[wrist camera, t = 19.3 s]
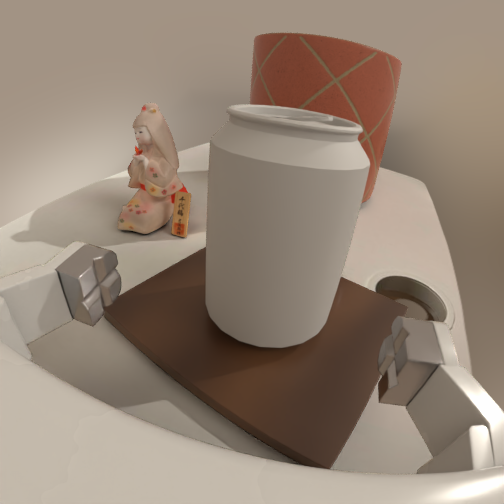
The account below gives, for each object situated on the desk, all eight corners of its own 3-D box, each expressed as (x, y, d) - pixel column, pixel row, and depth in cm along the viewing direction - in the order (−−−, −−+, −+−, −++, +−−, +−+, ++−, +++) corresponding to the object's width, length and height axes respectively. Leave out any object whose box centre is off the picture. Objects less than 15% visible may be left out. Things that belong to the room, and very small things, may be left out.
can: (240, 264, 23) (256, 98, 17) (336, 298, 21) (382, 123, 15) (181, 324, 18) (176, 104, 11) (301, 377, 15) (369, 135, 9)
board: (403, 316, 21) (408, 306, 21) (323, 476, 11) (329, 469, 11) (235, 239, 28) (236, 230, 28) (104, 317, 18) (101, 305, 18)
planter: (267, 159, 53) (279, 49, 43) (374, 185, 48) (396, 69, 38) (216, 192, 38) (228, 29, 27) (371, 232, 33) (409, 52, 22)
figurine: (98, 224, 28) (100, 103, 24) (142, 210, 34) (148, 105, 30) (166, 247, 25) (174, 99, 21) (208, 226, 31) (219, 106, 27)
